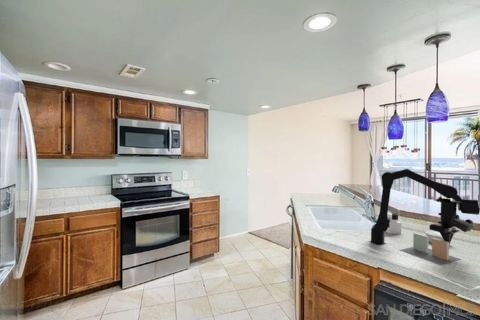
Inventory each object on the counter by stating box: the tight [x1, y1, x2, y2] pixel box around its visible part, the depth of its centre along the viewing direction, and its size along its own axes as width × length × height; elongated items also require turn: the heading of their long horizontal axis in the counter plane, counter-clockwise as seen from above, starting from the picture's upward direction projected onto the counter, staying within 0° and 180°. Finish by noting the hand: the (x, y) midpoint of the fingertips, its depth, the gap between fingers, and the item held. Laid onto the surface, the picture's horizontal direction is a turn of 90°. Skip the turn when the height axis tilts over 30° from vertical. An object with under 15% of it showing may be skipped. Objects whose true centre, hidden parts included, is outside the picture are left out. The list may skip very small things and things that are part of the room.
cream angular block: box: [431, 238, 450, 260], centre depth 112 cm, size 2×6×8 cm, turn 22°
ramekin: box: [424, 230, 451, 246], centre depth 131 cm, size 11×11×5 cm
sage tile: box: [412, 232, 429, 253], centre depth 119 cm, size 2×6×8 cm, turn 22°
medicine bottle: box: [385, 212, 402, 235], centre depth 149 cm, size 7×7×12 cm
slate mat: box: [399, 246, 462, 266], centre depth 115 cm, size 16×18×1 cm
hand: (447, 244), depth 114 cm, fingers closed
